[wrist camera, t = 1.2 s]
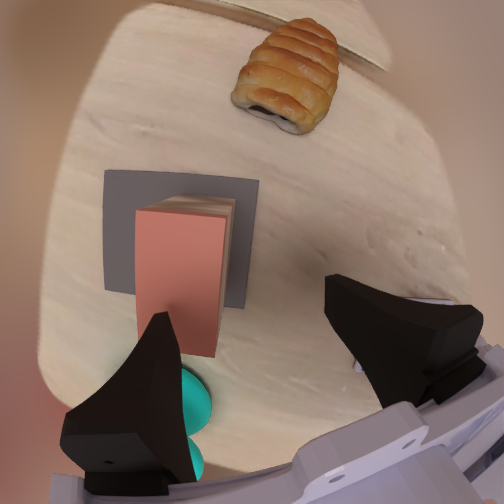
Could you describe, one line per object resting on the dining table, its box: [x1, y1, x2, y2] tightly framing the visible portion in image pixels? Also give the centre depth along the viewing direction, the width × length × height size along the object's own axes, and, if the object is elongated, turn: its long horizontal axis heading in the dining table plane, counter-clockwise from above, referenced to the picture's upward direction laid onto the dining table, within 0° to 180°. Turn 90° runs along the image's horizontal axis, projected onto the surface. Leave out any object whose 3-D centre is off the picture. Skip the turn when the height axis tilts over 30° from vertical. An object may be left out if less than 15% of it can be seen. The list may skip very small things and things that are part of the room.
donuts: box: [182, 368, 212, 481], centre depth 21 cm, size 10×10×10 cm
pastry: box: [231, 18, 339, 134], centre depth 17 cm, size 9×7×4 cm
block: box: [135, 194, 236, 358], centre depth 17 cm, size 4×7×9 cm, turn 173°
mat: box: [103, 170, 259, 309], centre depth 22 cm, size 12×10×1 cm
